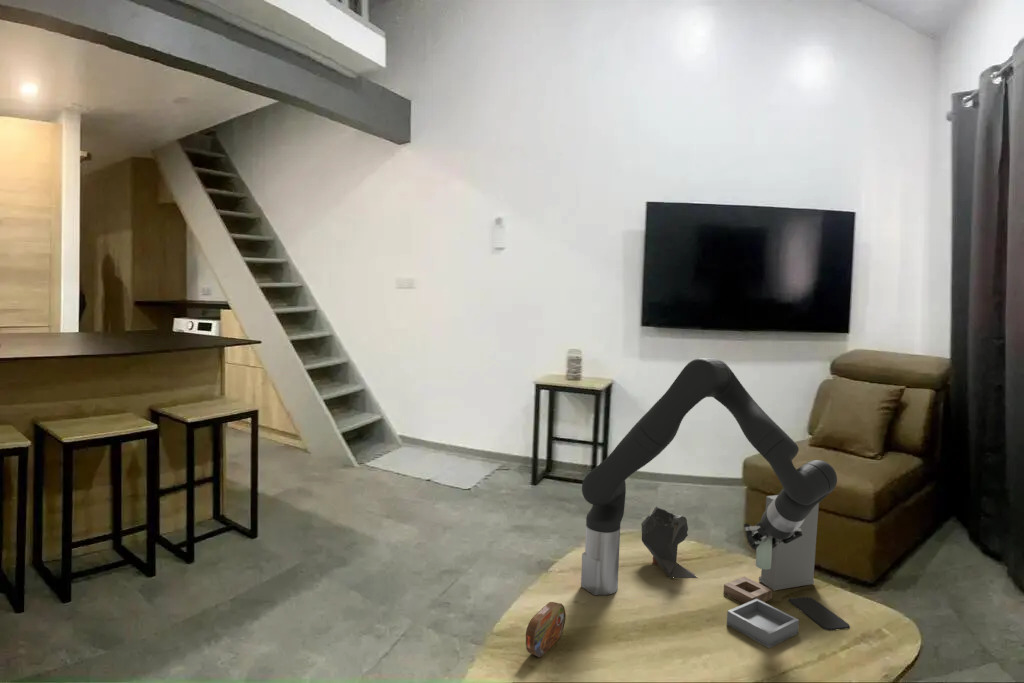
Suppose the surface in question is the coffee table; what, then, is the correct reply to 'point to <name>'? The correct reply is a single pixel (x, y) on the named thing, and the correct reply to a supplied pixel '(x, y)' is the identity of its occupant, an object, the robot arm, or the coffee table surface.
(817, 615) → the phone
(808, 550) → the tall grey upright box
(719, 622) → the coffee table surface
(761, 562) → the pale green rounded cylinder
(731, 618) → the tray
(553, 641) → the tin
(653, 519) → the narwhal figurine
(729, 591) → the brown hollow square block
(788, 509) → the robot arm
